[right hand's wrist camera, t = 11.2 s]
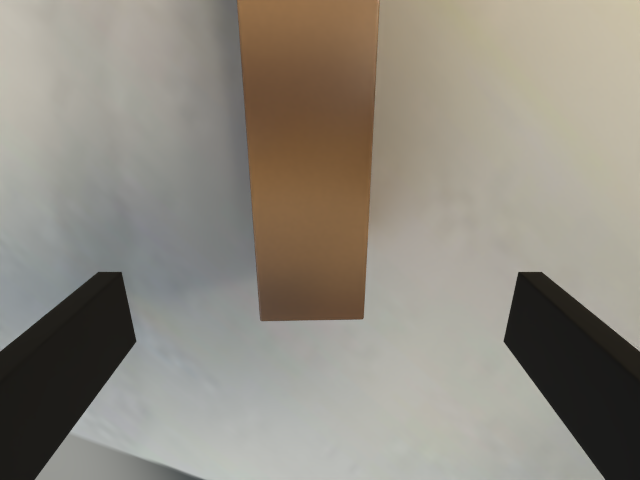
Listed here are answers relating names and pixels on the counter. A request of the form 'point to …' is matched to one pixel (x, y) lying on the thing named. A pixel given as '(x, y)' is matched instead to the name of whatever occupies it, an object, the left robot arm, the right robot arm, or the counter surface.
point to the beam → (309, 151)
